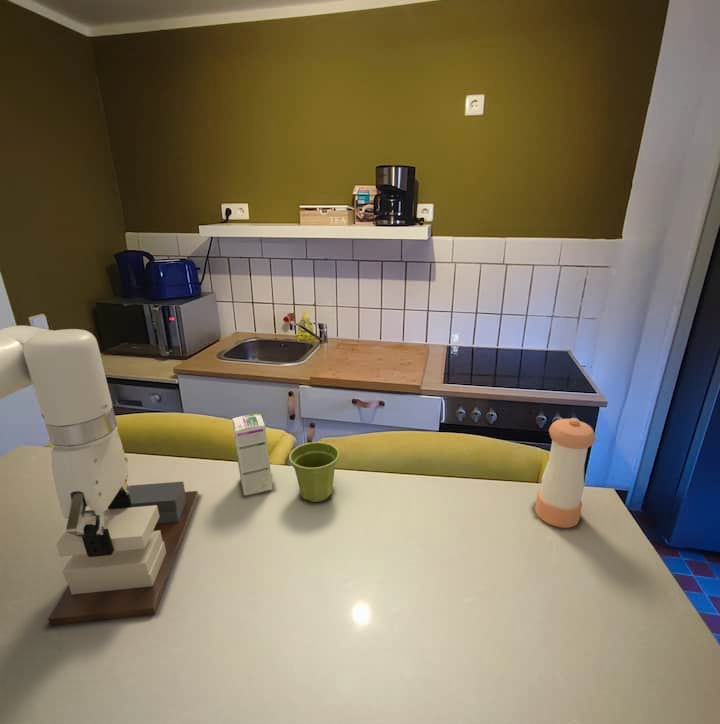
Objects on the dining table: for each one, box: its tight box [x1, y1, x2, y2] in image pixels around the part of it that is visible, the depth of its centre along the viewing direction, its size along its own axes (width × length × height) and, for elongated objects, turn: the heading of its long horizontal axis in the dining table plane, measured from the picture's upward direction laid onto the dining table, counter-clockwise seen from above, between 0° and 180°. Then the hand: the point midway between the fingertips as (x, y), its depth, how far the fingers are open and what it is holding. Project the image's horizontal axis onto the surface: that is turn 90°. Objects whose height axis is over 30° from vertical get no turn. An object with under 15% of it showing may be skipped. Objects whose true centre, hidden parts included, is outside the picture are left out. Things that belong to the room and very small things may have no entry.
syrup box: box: [231, 413, 273, 496], centre depth 83 cm, size 6×6×14 cm
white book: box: [56, 505, 160, 557], centre depth 61 cm, size 11×7×2 cm, turn 97°
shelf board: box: [47, 490, 199, 626], centre depth 70 cm, size 14×26×1 cm, turn 7°
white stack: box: [62, 530, 166, 594], centre depth 63 cm, size 11×7×4 cm, turn 97°
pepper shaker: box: [534, 417, 596, 529], centre depth 74 cm, size 7×7×19 cm
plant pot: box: [288, 441, 340, 503], centre depth 82 cm, size 9×9×9 cm
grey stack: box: [128, 481, 186, 524], centre depth 75 cm, size 11×5×5 cm, turn 97°
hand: (112, 534), depth 62 cm, fingers closed on white book, 6 cm apart
